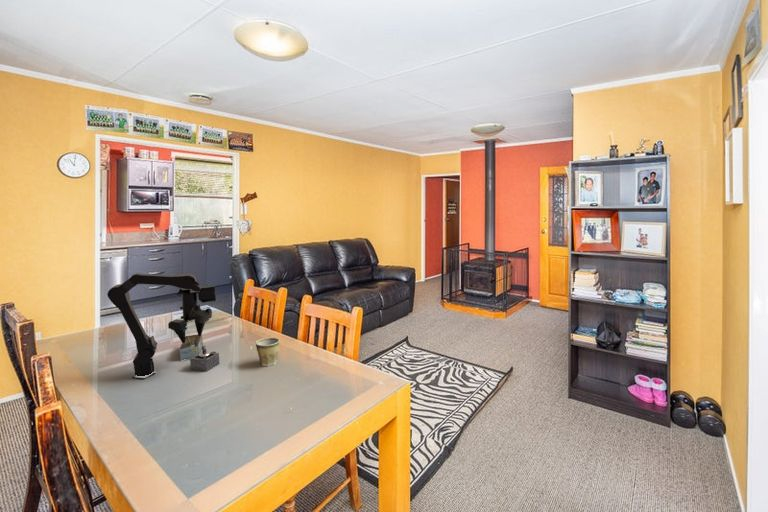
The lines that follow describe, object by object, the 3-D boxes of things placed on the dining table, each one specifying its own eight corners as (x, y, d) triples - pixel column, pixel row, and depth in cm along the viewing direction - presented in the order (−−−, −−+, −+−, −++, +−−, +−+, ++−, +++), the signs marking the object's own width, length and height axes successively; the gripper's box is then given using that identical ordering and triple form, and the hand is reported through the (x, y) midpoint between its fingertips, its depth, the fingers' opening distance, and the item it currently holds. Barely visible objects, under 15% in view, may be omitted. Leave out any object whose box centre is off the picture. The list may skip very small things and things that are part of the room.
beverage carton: (179, 361, 174) (178, 347, 173) (186, 347, 192) (184, 334, 191) (198, 359, 177) (197, 345, 176) (203, 345, 195) (202, 332, 194)
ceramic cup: (273, 368, 164) (272, 346, 162) (252, 367, 166) (251, 344, 164) (287, 356, 176) (286, 335, 175) (267, 355, 178) (266, 334, 177)
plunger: (206, 368, 164) (204, 349, 163) (196, 367, 165) (194, 348, 164) (214, 363, 169) (212, 344, 168) (204, 362, 170) (203, 344, 169)
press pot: (206, 371, 162) (205, 360, 162) (191, 369, 164) (190, 358, 164) (222, 362, 172) (221, 351, 171) (207, 360, 174) (206, 350, 173)
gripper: (188, 310, 152) (191, 348, 154) (220, 300, 170) (222, 334, 172) (166, 308, 155) (168, 345, 157) (199, 298, 173) (201, 332, 175)
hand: (191, 339), depth 165 cm, fingers open, 9 cm apart
